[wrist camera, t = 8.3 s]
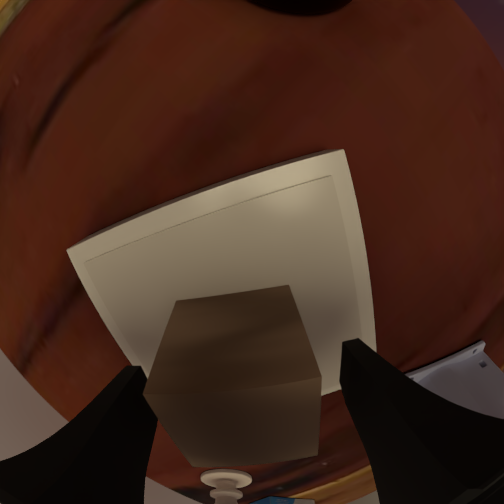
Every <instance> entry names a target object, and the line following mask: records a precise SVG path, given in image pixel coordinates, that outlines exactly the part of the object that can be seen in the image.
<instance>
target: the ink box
mask: <svg viewBox="0 0 504 504" xmlns="http://www.w3.org/2000/svg"><path fill="white" fill-rule="evenodd" d="M250 504H315V502H314V500H313V499H295V498H283V497H274V496H270V497H267V498H264V499H261V500H258V501H256V502H253V503H250Z"/></svg>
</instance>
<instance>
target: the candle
mask: <svg viewBox="0 0 504 504" xmlns="http://www.w3.org/2000/svg"><path fill="white" fill-rule="evenodd" d="M201 481H202V482H203V483H205V484H207V485H209V486H213V487H216V488H217V489H214V490H212V491H210V496H211V497H213V498H215V499H216V501H215V504H237V499H240V498H241V497H242V496H243V494H242V492H241V491H239V490H236V488H240V487H244V486H247V485H249V484H250V483H251V482H252V477H251V475H250V474H248V473H246V472H244V471H240V470H234V469H212V470H208V471H205V472H203V473H202V474H201Z"/></svg>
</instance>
